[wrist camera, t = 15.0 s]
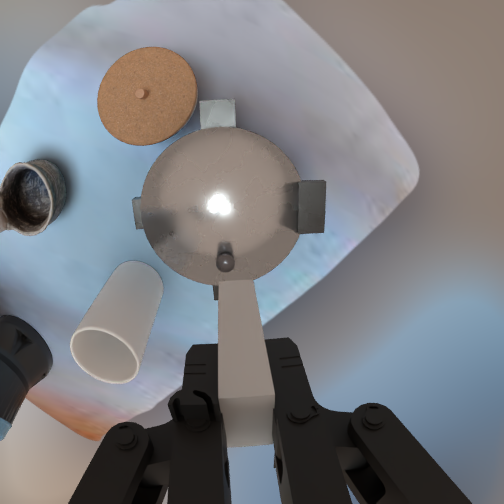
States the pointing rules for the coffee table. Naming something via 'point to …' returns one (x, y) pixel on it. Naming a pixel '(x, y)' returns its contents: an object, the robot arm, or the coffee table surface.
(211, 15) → the coffee table surface
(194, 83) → the lidded jar
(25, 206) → the mug
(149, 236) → the lid
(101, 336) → the cup
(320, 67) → the coffee table surface
